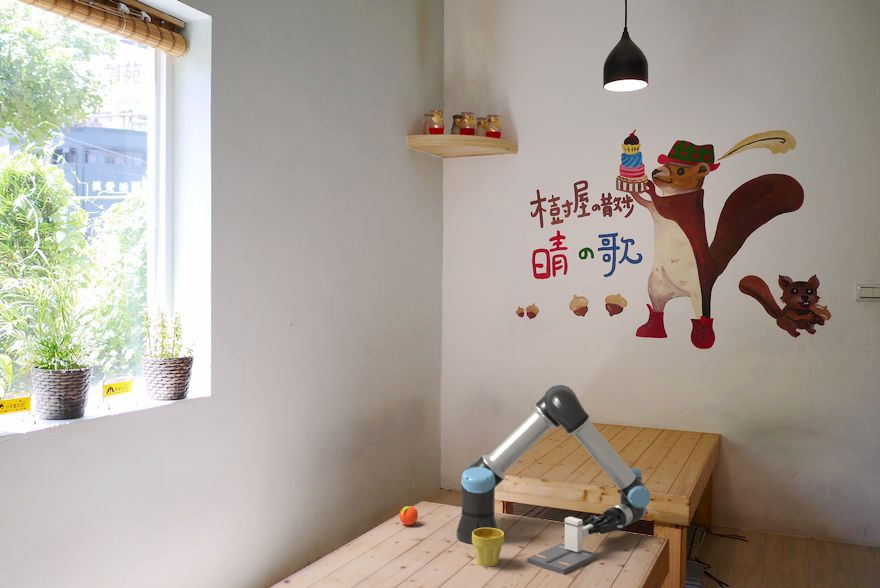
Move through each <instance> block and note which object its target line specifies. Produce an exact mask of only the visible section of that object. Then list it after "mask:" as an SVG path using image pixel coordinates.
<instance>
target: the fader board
mask: <svg viewBox="0 0 880 588" xmlns="http://www.w3.org/2000/svg"><path fill="white" fill-rule="evenodd" d="M597 556H598V555H597V553H596V552H592V551H590V550H589V551H588V550H585V549H582V550H581V551H579V552H575V551H572V550H568V549H565V543H562V542H560V543H558V544H556V545H554V546H552V547H549V548H547V549H544V550H542V551H540V552H538V553H535V554H533V555H530V556H528V557H527V558H526V559H527V560H526V563H527V564H531V565H535V566H537V567H540V568H543V569H547V570H548V571H553V572H556V573H559V574H561V575H565V574H567V573H569V572H572V571H573V570H575V569H578V568H580V567H581V566H584V565H586V564H588V563H589V562H592V561H594V560H596V559H597Z"/></svg>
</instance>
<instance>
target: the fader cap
mask: <svg viewBox="0 0 880 588" xmlns="http://www.w3.org/2000/svg"><path fill="white" fill-rule="evenodd" d="M583 527H584V521H583V519H581V518H578V517H574V516H568V517H567V516H566V517H565V518H564V544H565V549H568V550H572V551H575V552H579V551H581V550H583V538H582V534H583Z"/></svg>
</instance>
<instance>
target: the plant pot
mask: <svg viewBox="0 0 880 588" xmlns="http://www.w3.org/2000/svg"><path fill="white" fill-rule="evenodd" d="M472 543H473V546H474V550H475V555H476V556H475V557H476V561H477V564H478V565H480V566H483V567H495V566H496V565H498V564H499V560H500V555H501V551H502V546H504V544H505V531H503V530H501V529H499V528H498V529H496V528H479V529H475V530H474V531H473V532H472Z"/></svg>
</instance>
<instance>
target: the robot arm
mask: <svg viewBox="0 0 880 588" xmlns="http://www.w3.org/2000/svg"><path fill="white" fill-rule="evenodd" d="M590 418H591V417H590V415H589V414H588V413H587V411H586V410H585V409H584V407H583V406H582V404H581V402H580V400H579V399H578V396H577V395H576V393H575V392H574V390H573V389H572V388H570V387H569V386H567V385H563V384H555V385H551V387H549V388H548V389H547V390H546V391H545V393H544V395H543V396H542V397H541V398H540V399H539V400H538V401H537V402H536V403H535V405H534V411H533V412H532V413H531V414H530V415H528V417H526V419H524V421H522V422H521V423H520V424H519V426H518V427H516V428H515V429H514V430H513V431H512V432H511V433H510V434H509V435H508V436H507V437H506V438H505V439H504V440H503V441H502V442H501V443H500V444H499V445H498V446H497V447H496V448H494V450H493V451H491V453H490V454H483V455H482V456H481V457H479V458H478V460H476V461H475V462H473V463H471V464H470V465H469V466H467V468H465V470H464V471H463V473H462V475H461V481H460V482H461V515H460V519H459V522H458V525H457V527H456V538H457V540H459V541H461V542H463V543H466V544H471V545H472V544H473V543H472V532H473V531H474V530H475V529H479V528H496V529H499V528H498V524H497V519H496V515H495V500H496V499H495V495H496V494H495V493H496V490H495V489H496V488H497V487H498V486H499V484H501V483H502V482H503V481H504V480H505V478H506V472H507V471H508V470H509V469H510V468H511V467H512V466H513V465H514V464H516V462H518V460H520V459H521V458H522V456H524V455H525V454H526V453H527V452H528V451H529V450H530V449H531V448H532V447H533V446H534V445H535V444H536V443H537V442H538V441H539V440H541V439H542V437H543V436H544V435H546V433H548V431H550V430H551V429H555V428H557V429H558V428H559V427H560V426H561V427H562V428H563V430H564V431H566V433H567V434H568V435H573V436H574V437H575V439H576V440H577V441H578V442H579V444H580V445H581V446H582V447H583V448H584V450H585V451H586V452H587V453H588V454H589V455H590V456H591V457H592V459H593V460H594V461H595V462H596V463H597V464H598V466H599V467H600V468H601V469H602V470H603V472H604V473H605V474H606V475H607V477H608V478H609V479H610V480H611V481H612V482H613V483H614V484H615V486H616V487H617V488H618V489H619V490H620V499H619V502H620V503H619V504H617V505H614V506H612V507H610V508H607V509H606V510H604V512H603V514H601V515H597V516H596V515H594V514H590V516H589V517H588V518H587V519H586V520H584V521H583V534H582V539H584V538H586V537H588V536H589V535H593V534H598V533H599V534H600V535H602V534H603V535H605V534H608V533H613V532H615V531H622V530H623V528H624V527H625V526H628V525H631V524H632V523H635V522H638V521H640V520H641V519H643V518H644V517H645V515H646V513H647V506H648V505H649V504H650V501H651V493H650V491H649V489H648V488H647V487H646V486H645V484H644V483H643V477H642V470H641V469H640V468H638V467H629V465H627V463H626V462H625V461H624V460H623V459H622V457H621V456H620V455H619V454H618V453H617V451H616V450H615V448H613V447H612V445H611V444H610V443H609V442H608V441H607V439H605V437H604V436H603V435H602V433H601V432H600V431H598V429H597V428H596V427H595V426H594V424H593V423H592V422H591V421H590Z"/></svg>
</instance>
